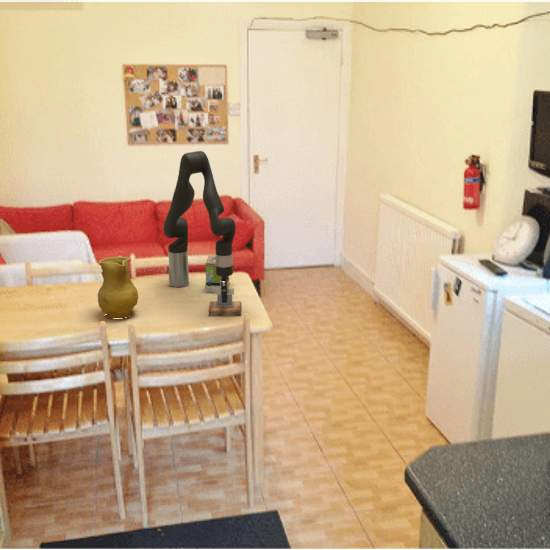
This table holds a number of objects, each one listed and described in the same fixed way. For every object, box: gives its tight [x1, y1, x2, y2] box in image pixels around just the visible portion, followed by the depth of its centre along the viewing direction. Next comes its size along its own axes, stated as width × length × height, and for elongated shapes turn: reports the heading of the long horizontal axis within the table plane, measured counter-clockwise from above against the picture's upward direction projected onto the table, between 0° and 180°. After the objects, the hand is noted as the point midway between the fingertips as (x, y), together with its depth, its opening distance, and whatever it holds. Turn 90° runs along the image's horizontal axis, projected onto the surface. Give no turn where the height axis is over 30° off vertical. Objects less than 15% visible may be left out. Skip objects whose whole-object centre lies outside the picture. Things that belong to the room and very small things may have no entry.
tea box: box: [205, 254, 230, 293], centre depth 326 cm, size 15×10×15 cm
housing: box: [214, 288, 235, 308], centre depth 297 cm, size 5×8×7 cm, turn 91°
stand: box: [208, 300, 242, 317], centre depth 299 cm, size 14×12×2 cm
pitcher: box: [97, 256, 139, 319], centre depth 292 cm, size 17×19×25 cm
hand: (225, 299), depth 297 cm, fingers open, 8 cm apart
